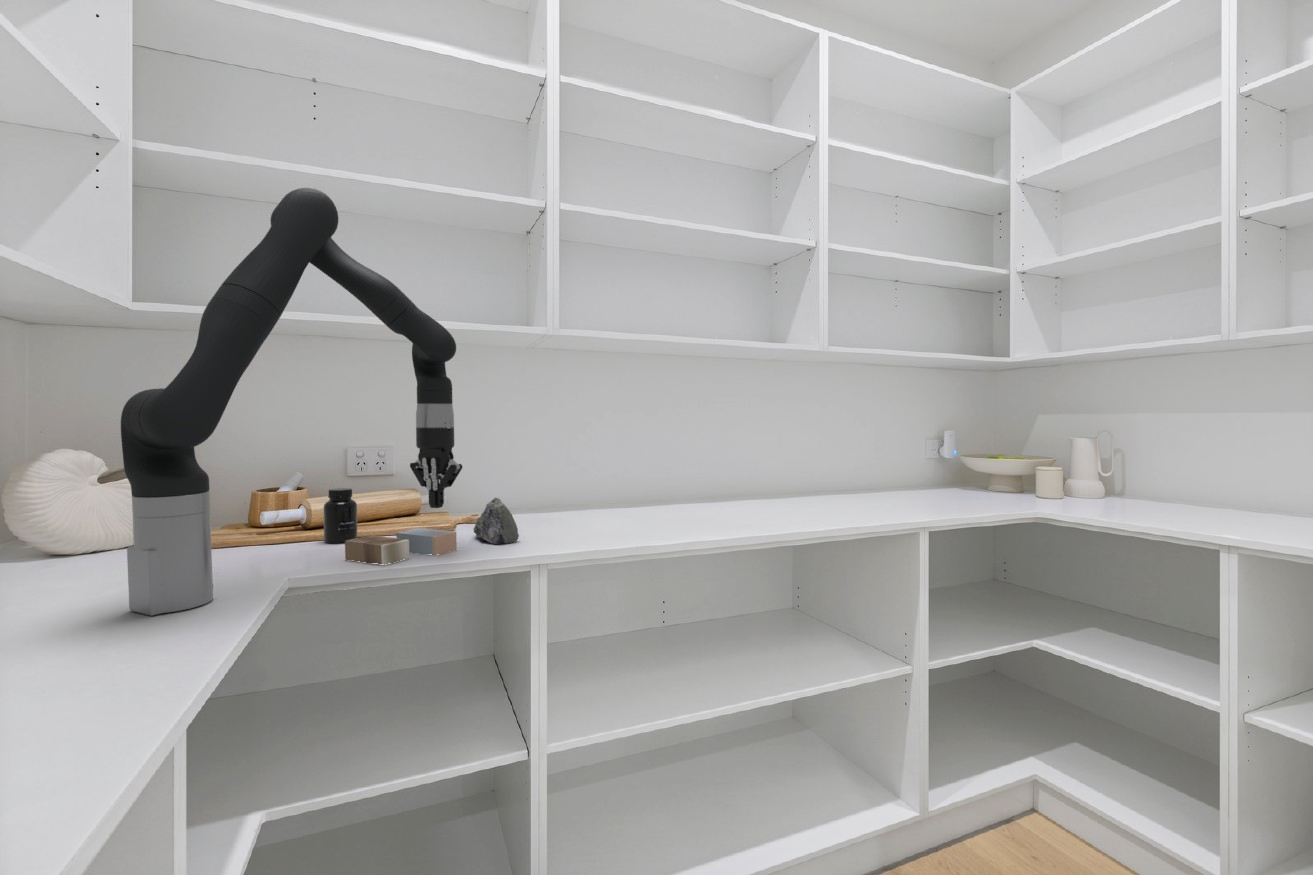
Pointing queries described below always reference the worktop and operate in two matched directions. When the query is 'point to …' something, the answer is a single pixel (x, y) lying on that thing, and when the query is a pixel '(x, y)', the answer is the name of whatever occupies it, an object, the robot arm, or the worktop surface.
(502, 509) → the mineral rock
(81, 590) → the worktop surface
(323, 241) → the robot arm
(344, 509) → the supplement bottle
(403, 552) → the walnut block
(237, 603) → the worktop surface
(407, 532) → the slate block
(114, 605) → the worktop surface
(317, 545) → the worktop surface
